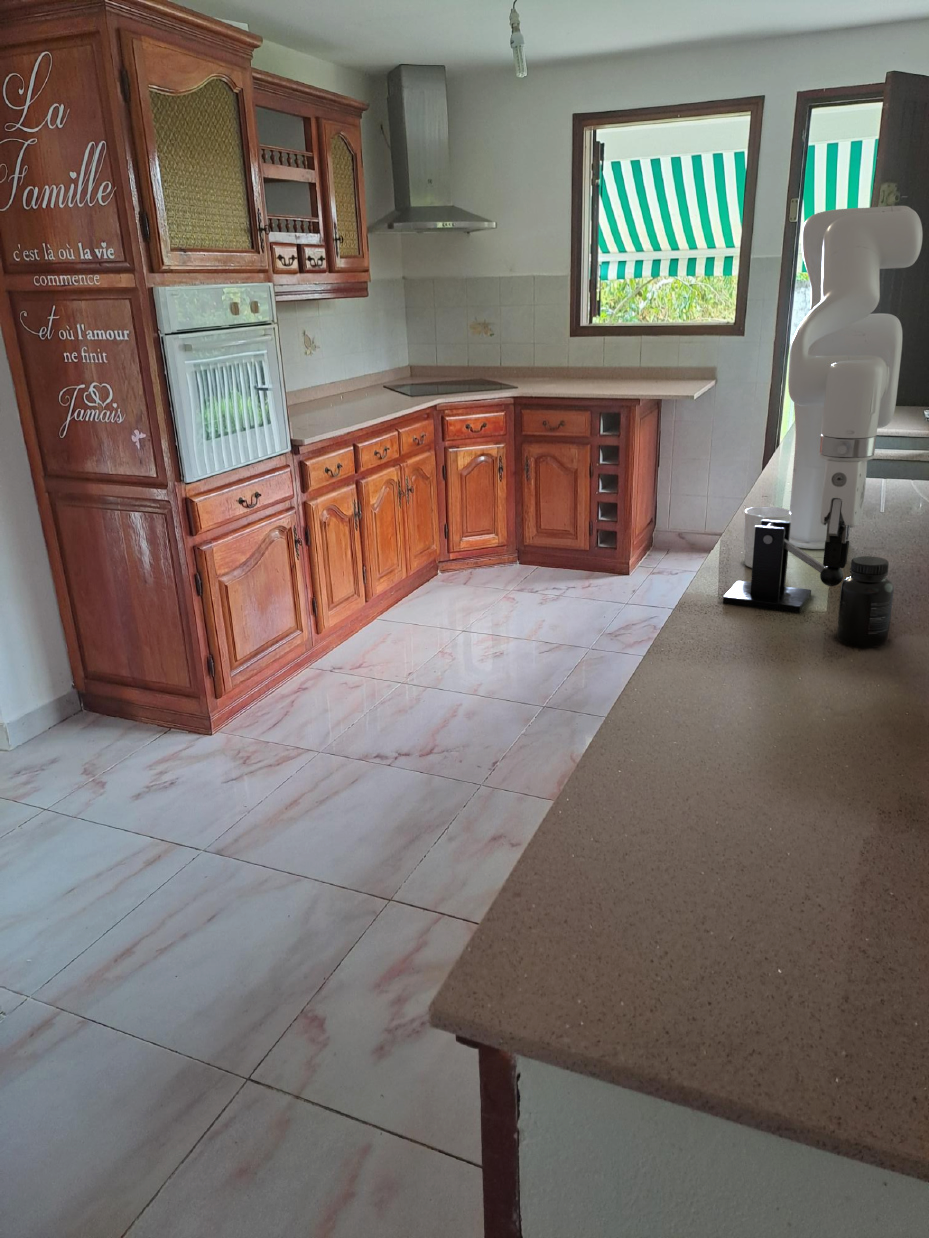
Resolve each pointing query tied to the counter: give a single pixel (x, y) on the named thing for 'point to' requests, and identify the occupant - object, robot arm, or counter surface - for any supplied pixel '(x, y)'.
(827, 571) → the tap lever
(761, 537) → the black lever stand
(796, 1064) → the counter surface
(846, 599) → the supplement bottle
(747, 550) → the white cup
